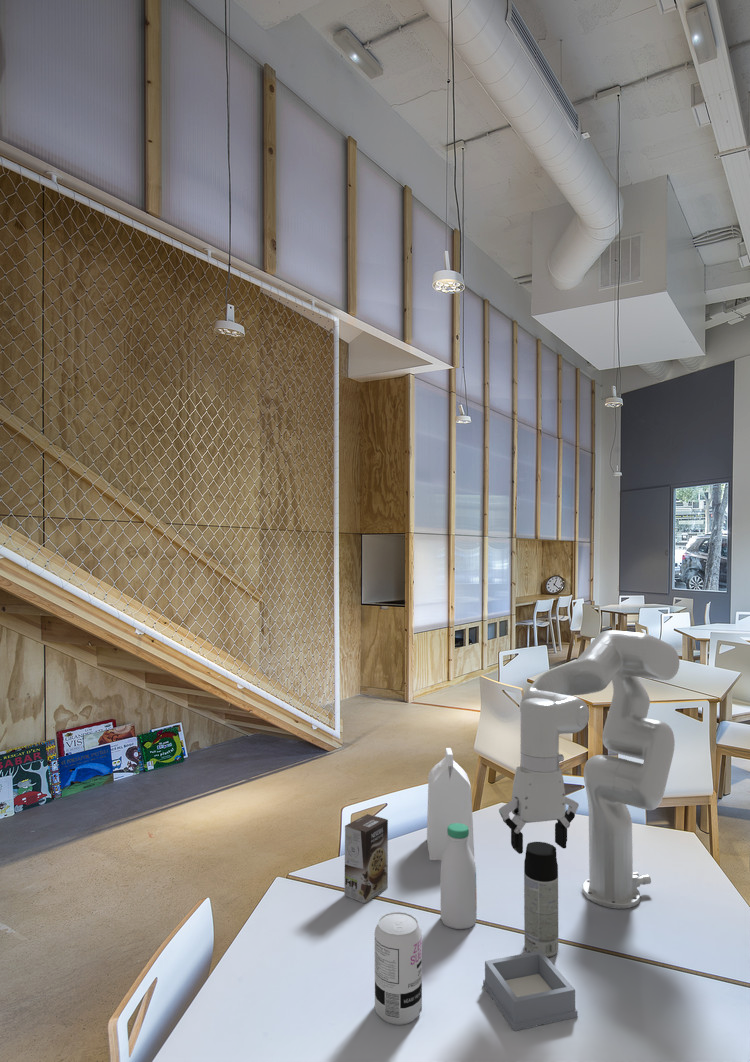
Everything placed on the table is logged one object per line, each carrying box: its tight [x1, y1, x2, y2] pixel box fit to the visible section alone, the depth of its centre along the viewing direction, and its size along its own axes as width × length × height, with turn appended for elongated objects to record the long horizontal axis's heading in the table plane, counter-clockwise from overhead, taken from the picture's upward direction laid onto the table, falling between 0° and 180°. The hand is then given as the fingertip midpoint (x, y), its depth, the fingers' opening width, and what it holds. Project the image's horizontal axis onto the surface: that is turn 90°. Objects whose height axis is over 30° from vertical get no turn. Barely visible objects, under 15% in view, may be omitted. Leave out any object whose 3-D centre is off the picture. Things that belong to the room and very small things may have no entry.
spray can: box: [523, 841, 559, 958], centre depth 133 cm, size 7×7×20 cm
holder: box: [482, 951, 579, 1032], centre depth 118 cm, size 12×12×4 cm
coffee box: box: [343, 813, 389, 904], centre depth 155 cm, size 9×6×16 cm
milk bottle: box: [440, 823, 478, 930], centre depth 143 cm, size 8×8×20 cm
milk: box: [426, 747, 475, 861], centre depth 177 cm, size 12×12×26 cm
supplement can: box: [374, 911, 423, 1026], centre depth 115 cm, size 8×8×15 cm
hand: (539, 848), depth 133 cm, fingers open, 9 cm apart
